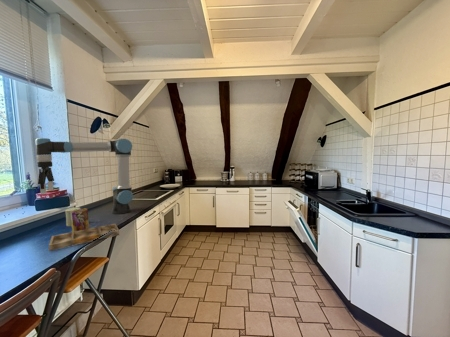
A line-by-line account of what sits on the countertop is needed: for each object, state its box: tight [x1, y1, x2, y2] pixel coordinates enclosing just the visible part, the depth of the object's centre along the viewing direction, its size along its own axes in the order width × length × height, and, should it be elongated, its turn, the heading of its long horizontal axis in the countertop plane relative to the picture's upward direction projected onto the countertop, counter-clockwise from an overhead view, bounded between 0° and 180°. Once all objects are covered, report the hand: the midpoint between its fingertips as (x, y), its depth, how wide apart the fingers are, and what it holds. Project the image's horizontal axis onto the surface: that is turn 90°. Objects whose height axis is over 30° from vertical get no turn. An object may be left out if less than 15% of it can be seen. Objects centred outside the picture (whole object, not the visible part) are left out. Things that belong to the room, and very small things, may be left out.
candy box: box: [70, 207, 90, 232], centre depth 133 cm, size 9×4×15 cm, turn 140°
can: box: [64, 207, 82, 227], centre depth 148 cm, size 9×9×12 cm
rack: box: [48, 223, 120, 252], centre depth 123 cm, size 34×15×4 cm, turn 126°
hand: (47, 191), depth 137 cm, fingers open, 13 cm apart
